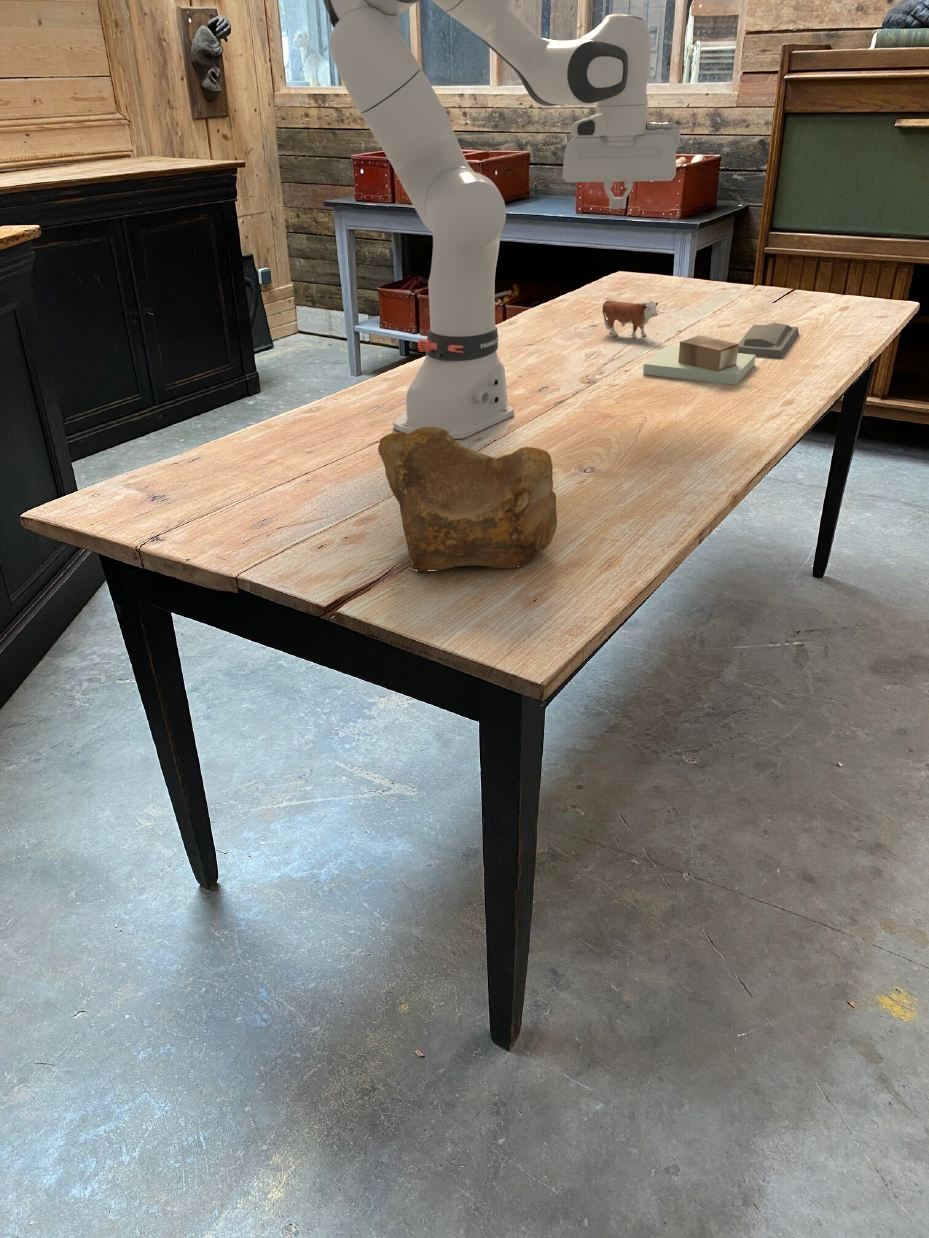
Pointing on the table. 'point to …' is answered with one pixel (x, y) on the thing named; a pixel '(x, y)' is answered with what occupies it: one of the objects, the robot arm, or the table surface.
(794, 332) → the soap mold
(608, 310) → the bull figurine
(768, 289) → the table surface
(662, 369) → the board
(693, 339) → the block
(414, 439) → the rough brown rock
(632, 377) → the table surface
